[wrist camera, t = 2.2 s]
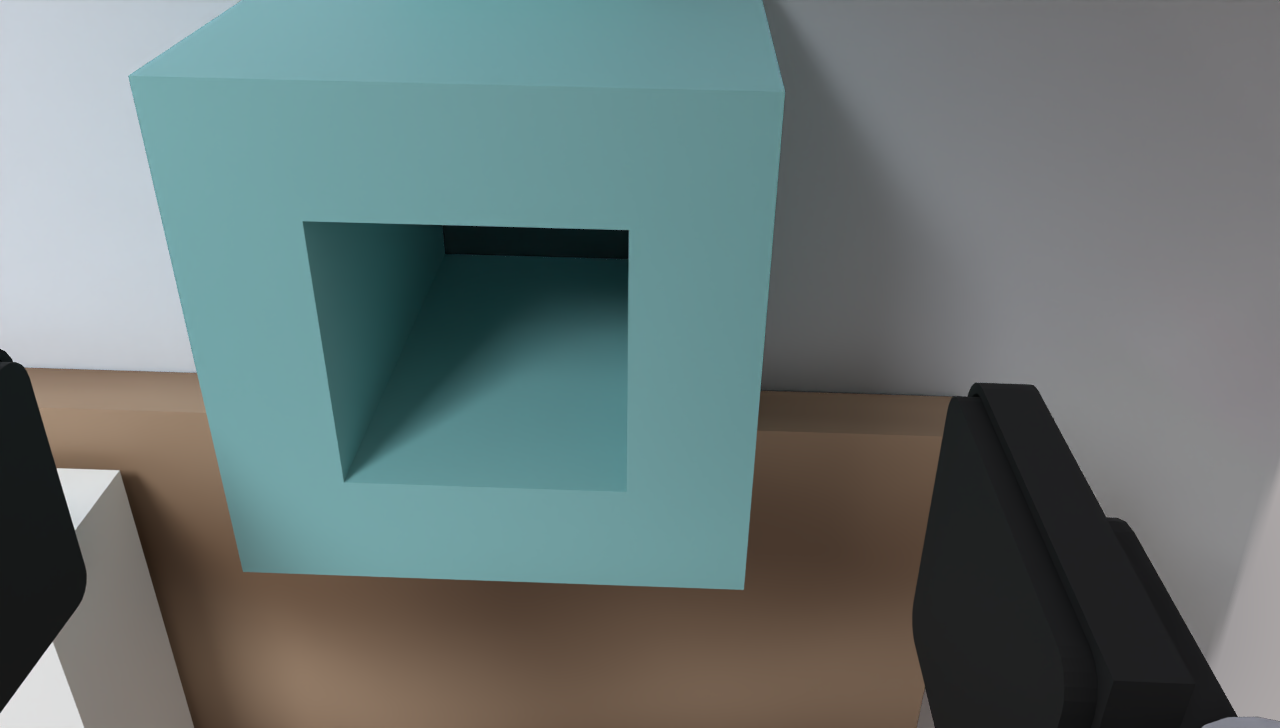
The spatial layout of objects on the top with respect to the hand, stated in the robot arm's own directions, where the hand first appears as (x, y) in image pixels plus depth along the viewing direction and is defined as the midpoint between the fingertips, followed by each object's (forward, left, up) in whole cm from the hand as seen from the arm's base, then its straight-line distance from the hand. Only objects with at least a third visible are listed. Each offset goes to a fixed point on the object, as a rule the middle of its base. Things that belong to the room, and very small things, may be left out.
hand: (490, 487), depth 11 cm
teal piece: (-2, 0, -7) cm, 7 cm away
